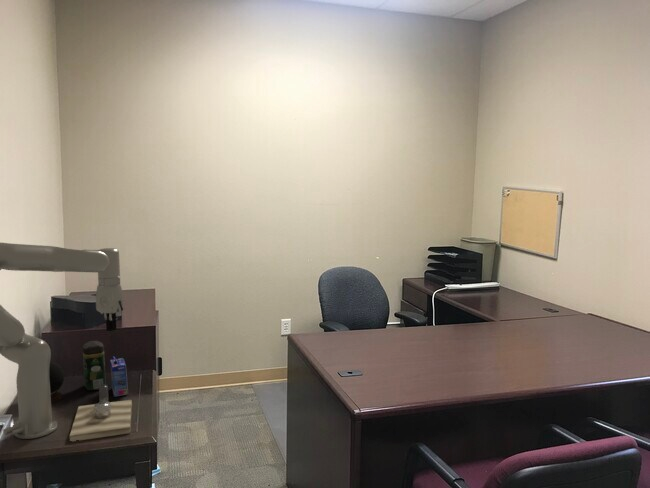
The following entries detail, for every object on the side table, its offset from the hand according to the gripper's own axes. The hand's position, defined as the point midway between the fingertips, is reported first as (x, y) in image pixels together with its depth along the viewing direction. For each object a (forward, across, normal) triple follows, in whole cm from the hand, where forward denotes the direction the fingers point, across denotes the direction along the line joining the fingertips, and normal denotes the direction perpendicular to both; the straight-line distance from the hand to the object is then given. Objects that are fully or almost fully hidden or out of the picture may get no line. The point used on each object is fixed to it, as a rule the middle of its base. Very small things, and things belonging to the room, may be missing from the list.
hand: (111, 330), depth 193 cm
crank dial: (+25, +8, -11) cm, 29 cm away
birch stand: (+28, +11, -14) cm, 33 cm away
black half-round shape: (+28, -25, -11) cm, 39 cm away
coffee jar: (+28, -20, +7) cm, 35 cm away
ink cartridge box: (+28, -6, +8) cm, 30 cm away
